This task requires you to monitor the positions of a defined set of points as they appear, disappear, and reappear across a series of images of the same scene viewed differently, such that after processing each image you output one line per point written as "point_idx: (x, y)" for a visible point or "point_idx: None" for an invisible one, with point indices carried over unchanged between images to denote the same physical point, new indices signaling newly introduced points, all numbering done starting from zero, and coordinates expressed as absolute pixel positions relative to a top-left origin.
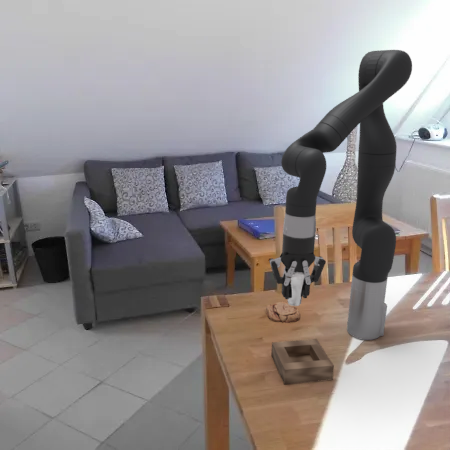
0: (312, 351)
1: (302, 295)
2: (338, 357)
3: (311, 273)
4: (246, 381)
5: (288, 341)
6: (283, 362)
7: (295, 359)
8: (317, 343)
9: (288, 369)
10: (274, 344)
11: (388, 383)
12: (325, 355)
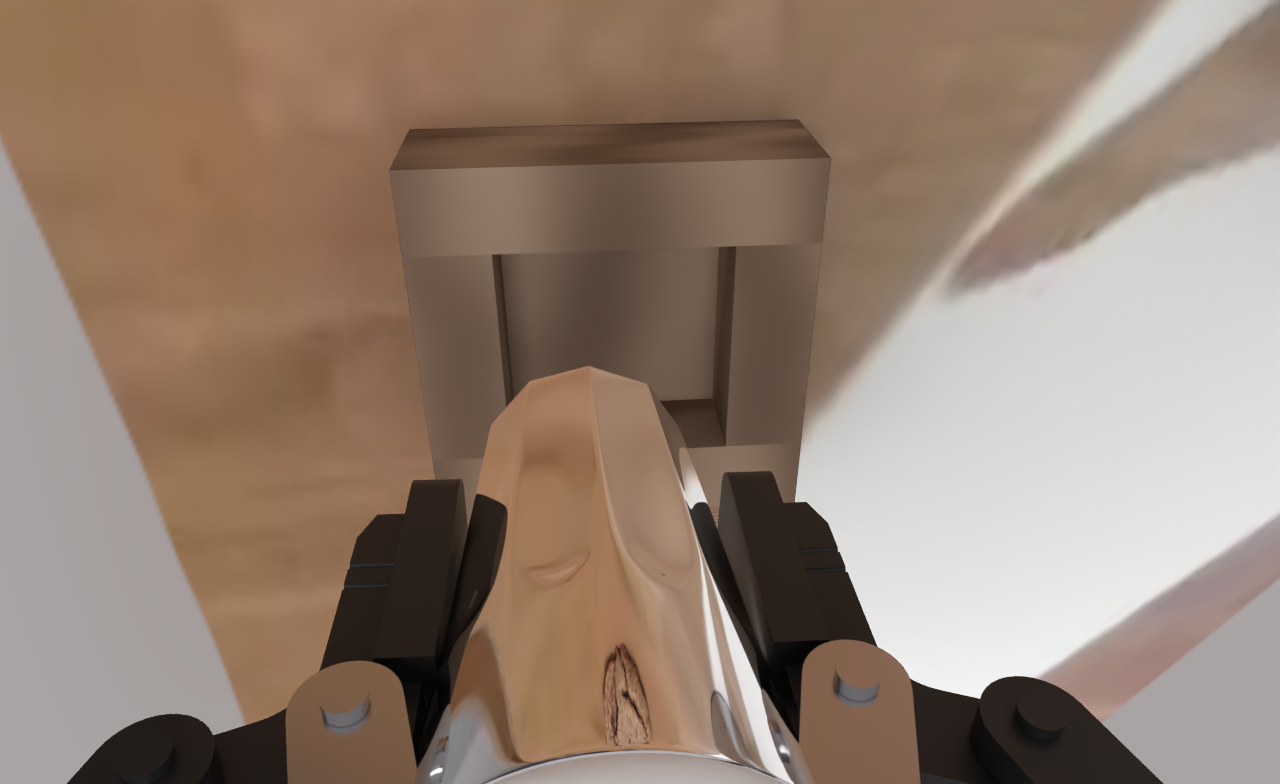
0: (728, 284)
1: (721, 505)
2: (939, 210)
3: (1026, 781)
4: (201, 407)
5: (552, 172)
6: (446, 450)
7: (586, 258)
8: (803, 234)
9: (468, 518)
10: (409, 206)
11: (1072, 488)
12: (791, 395)
